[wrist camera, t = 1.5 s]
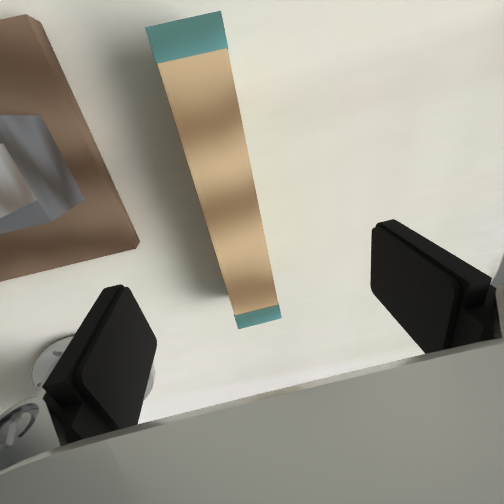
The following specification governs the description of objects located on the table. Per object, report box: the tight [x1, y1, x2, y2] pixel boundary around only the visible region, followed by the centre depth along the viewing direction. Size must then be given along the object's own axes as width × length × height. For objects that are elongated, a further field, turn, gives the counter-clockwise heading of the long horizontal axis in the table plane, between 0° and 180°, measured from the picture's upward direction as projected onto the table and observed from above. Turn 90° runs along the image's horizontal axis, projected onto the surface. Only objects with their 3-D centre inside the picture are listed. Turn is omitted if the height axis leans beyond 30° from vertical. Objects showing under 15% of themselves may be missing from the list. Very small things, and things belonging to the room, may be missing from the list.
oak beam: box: [145, 11, 281, 329], centre depth 21 cm, size 22×4×5 cm, turn 12°
